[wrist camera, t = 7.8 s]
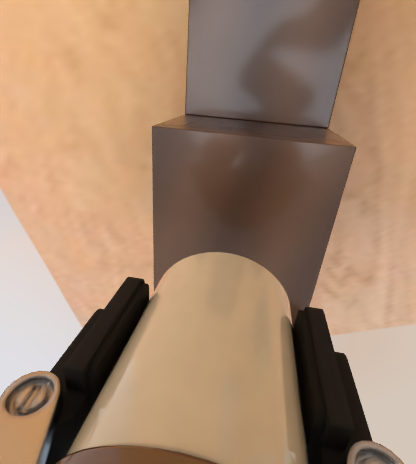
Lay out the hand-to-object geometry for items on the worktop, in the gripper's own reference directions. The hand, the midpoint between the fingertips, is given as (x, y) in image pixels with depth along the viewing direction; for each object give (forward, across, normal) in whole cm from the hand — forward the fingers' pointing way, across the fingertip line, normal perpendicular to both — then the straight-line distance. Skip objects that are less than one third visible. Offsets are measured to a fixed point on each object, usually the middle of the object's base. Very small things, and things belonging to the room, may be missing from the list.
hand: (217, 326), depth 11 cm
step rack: (+18, 0, -6) cm, 19 cm away
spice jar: (+1, 0, 0) cm, 1 cm away
